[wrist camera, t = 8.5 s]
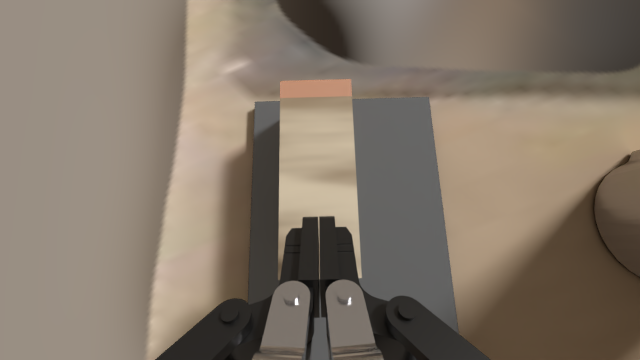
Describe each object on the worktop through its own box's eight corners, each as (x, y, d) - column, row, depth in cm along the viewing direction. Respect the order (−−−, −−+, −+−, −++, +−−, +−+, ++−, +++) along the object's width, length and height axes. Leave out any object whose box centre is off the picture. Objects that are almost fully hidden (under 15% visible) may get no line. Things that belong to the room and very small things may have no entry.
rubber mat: (256, 105, 23) (254, 101, 22) (426, 100, 23) (428, 97, 22) (245, 453, 17) (242, 461, 17) (469, 449, 17) (474, 456, 17)
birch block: (288, 271, 19) (289, 113, 22) (352, 270, 19) (345, 112, 22) (277, 280, 15) (280, 81, 17) (361, 277, 15) (350, 79, 17)
